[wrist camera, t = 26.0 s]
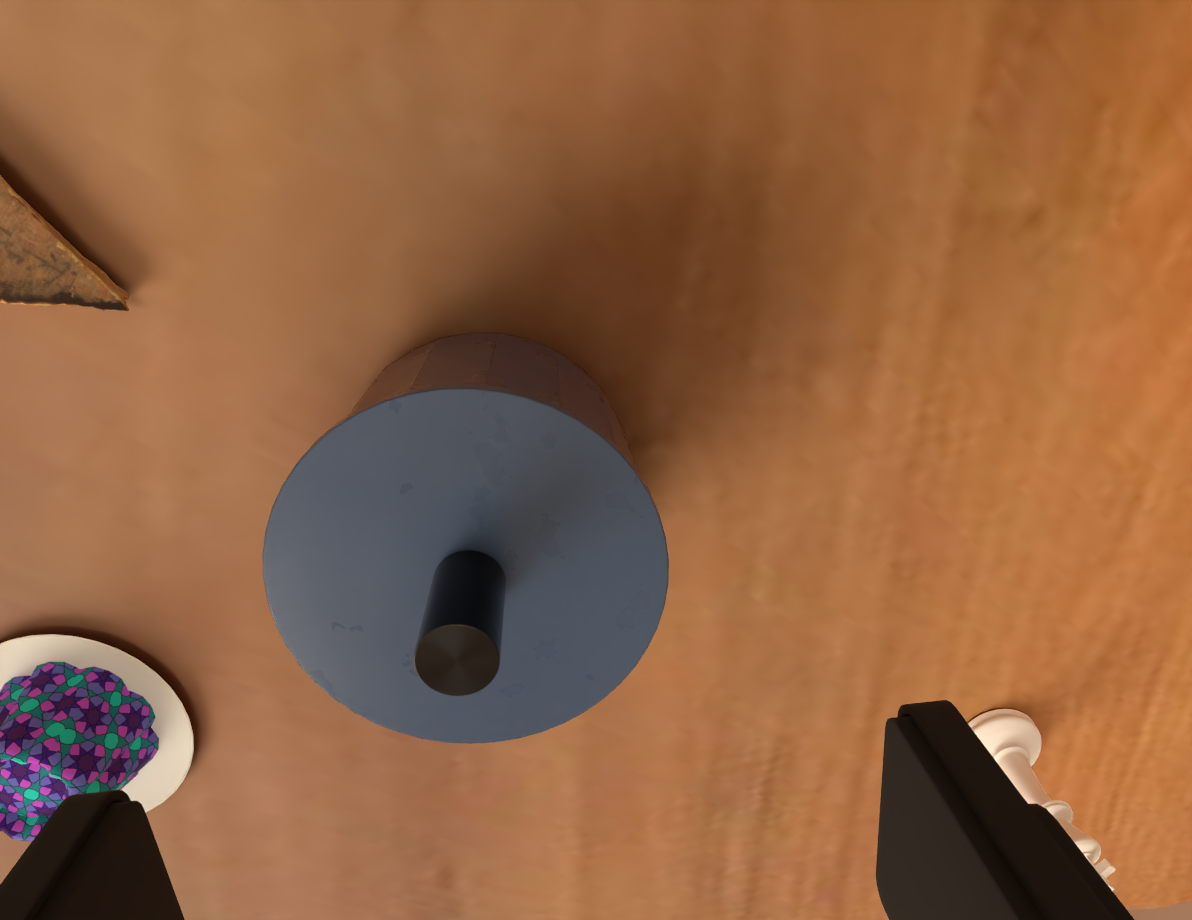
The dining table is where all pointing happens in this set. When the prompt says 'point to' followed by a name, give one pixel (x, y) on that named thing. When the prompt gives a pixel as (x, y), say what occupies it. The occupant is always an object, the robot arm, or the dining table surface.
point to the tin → (501, 376)
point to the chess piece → (1031, 772)
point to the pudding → (83, 729)
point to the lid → (465, 563)
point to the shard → (47, 263)
